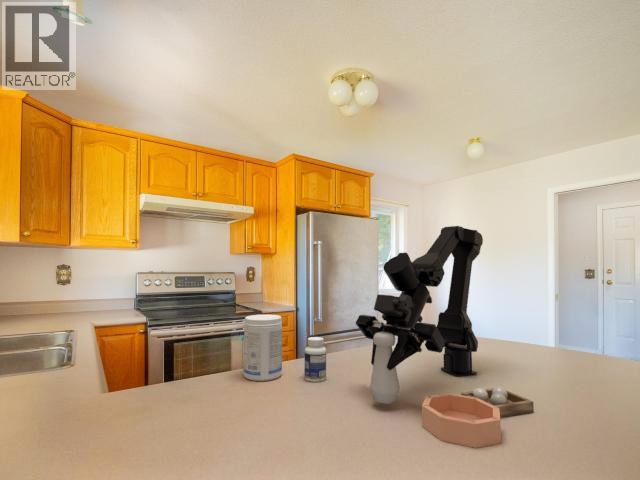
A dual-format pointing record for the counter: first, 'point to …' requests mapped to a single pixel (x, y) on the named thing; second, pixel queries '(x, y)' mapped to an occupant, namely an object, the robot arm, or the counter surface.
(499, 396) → the pebble
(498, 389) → the white ball
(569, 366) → the counter surface
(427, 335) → the robot arm
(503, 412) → the pebble tray
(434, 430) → the bowl
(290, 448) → the counter surface
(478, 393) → the pebble
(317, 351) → the pill bottle
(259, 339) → the supplement tub
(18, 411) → the counter surface
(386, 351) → the salt shaker
